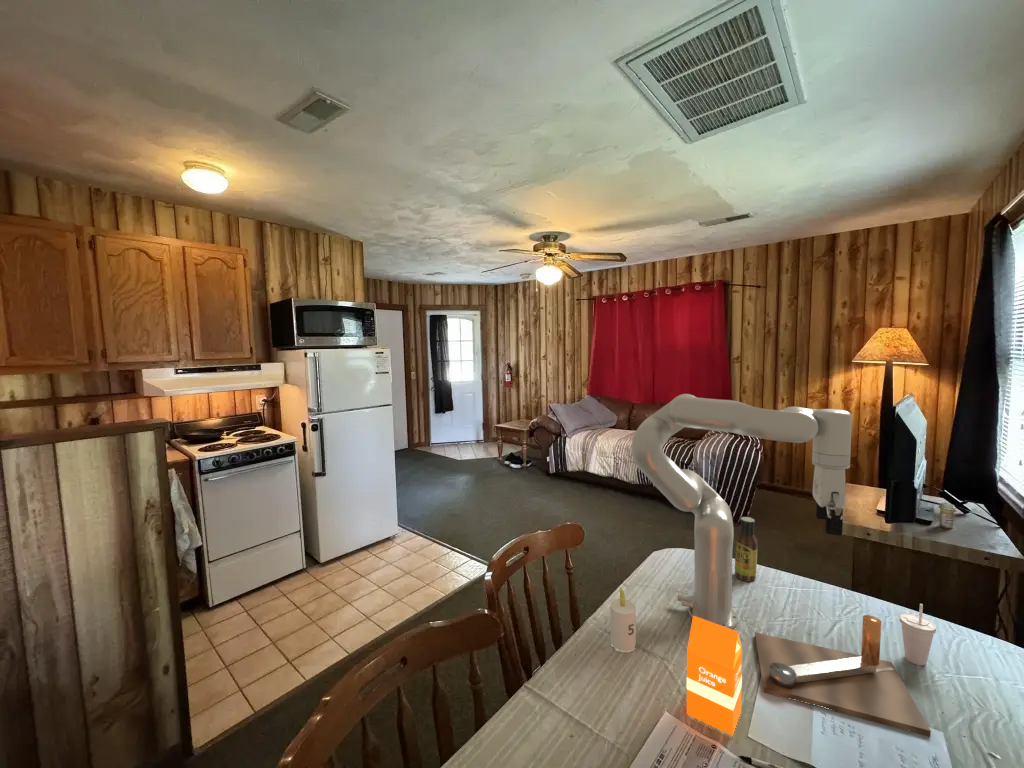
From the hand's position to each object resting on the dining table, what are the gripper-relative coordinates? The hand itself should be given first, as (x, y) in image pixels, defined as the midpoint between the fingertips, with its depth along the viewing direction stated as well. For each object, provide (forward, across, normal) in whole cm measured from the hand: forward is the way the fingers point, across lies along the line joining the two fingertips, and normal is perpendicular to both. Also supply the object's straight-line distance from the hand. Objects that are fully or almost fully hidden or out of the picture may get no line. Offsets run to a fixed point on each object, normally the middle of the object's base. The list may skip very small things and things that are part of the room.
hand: (828, 526), depth 107 cm
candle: (+31, +21, -47) cm, 60 cm away
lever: (+29, +15, -3) cm, 33 cm away
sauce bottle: (+31, -26, -16) cm, 43 cm away
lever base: (+30, +15, -2) cm, 34 cm away
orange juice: (+31, +35, -26) cm, 53 cm away
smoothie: (+31, 0, +18) cm, 35 cm away
